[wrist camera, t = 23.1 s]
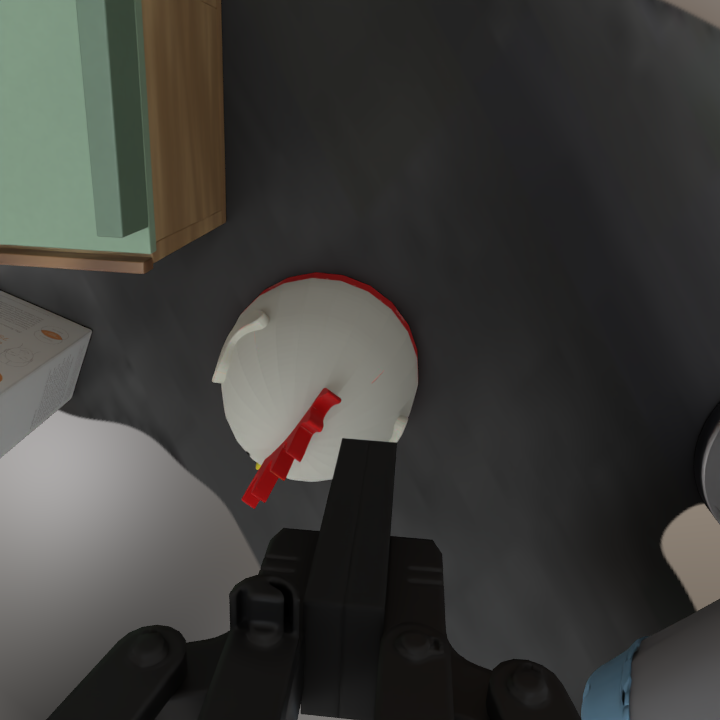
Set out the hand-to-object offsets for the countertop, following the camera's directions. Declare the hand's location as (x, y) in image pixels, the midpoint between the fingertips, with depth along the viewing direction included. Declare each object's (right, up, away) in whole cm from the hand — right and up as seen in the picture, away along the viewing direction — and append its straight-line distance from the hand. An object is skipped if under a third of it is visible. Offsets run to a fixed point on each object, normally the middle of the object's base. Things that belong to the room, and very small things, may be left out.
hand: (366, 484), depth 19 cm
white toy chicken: (-3, +3, +31) cm, 31 cm away
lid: (-17, +15, +13) cm, 26 cm away
